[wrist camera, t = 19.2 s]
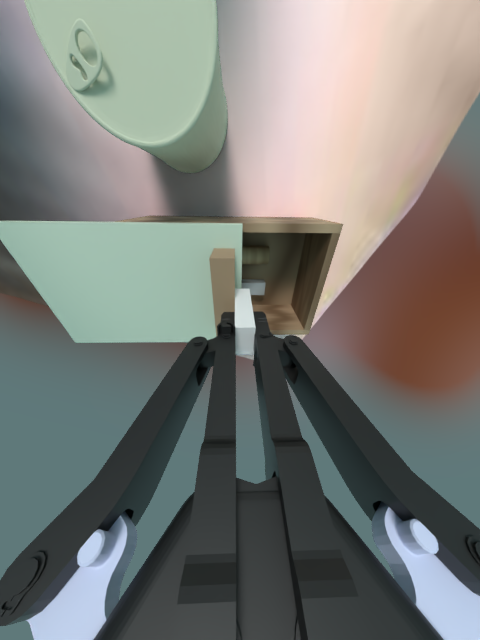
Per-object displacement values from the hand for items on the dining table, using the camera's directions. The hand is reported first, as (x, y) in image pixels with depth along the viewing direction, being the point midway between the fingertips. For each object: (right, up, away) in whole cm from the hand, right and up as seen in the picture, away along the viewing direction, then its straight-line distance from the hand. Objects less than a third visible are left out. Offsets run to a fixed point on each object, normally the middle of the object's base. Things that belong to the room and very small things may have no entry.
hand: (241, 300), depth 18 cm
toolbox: (-1, +6, +9) cm, 11 cm away
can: (-6, +19, 0) cm, 20 cm away
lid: (-11, +1, +2) cm, 11 cm away
